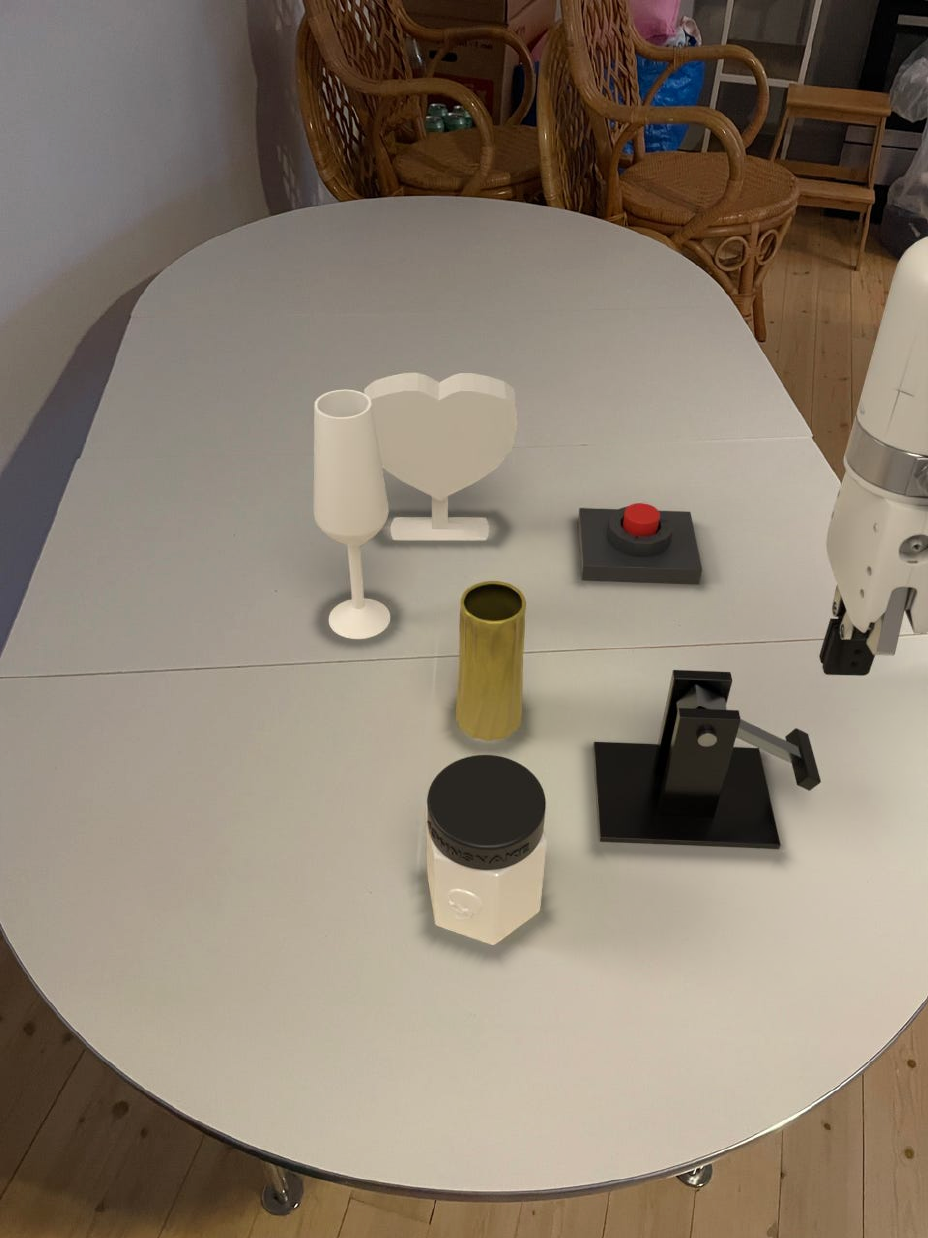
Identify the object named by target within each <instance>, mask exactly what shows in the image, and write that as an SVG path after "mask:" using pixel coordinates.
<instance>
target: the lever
mask: <svg viewBox="0 0 928 1238" xmlns="http://www.w3.org/2000/svg"><path fill="white" fill-rule="evenodd" d="M676 704H677V710H678V709H679V708H693V709H719V710H728V709H727V704H726V703H725V699H724V698H723V697H721V696H719V695H717V694H715V693H713V692H711V691H709V690H706V689H704V688H702V687H700V686H698V685H695V686H694V687H693V688H691V689H690V690H689V691H688V692H687V693H686V694H685V695H684V696H683V697H682V698H681V699H680V700H678V701H677V703H676ZM809 735H810V734H808V733H807V732H805V731H803V730H801V729H799V728H797V727H795V728H794V729H792V730H791V731H790V732H789V733H788V734H786V735H785V736H784V738H785V739H783V738H781V737H779V736H777V735H775V734H773V733H771V732H769V731H767V730H764V729H763V728H761V727H759V726H756V725H754V724H752V723H750V722H748V721H746V720H743V719H742V718H741V721H740V725H739V728H738V732H737V736H736V739H738V740H741V741H743V742H745V743H747V744H749V745H751V746H753V747H755V748H759V750H762V751H763V752H766V753H768V754H770V755H773V756H775V757H777V758H779V759H781V760H782V761H785V762H786V763H787V762H788V763H790V764H791V767H792V770H793V774H794V779H795V782H796V785H797V786H798V787H800V788H802V789H804V790H807V791H812V790H813V789H814V788H816V787H817V786H818V785H819V784H821V783H822V780H821V776H820V773H819V769H818V764H817V761H816V758H815V754H814V750H813V746H812V743H811V740H810V736H809Z"/></svg>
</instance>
